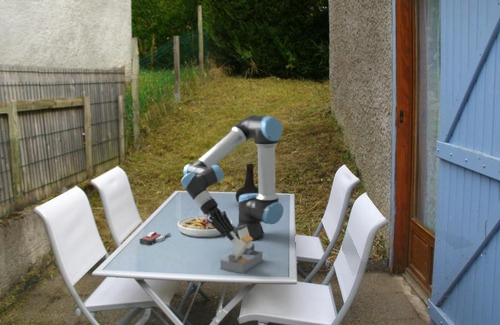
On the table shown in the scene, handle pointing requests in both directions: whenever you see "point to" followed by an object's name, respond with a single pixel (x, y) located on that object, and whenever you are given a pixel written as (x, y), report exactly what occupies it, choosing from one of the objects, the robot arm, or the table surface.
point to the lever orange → (242, 246)
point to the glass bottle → (247, 183)
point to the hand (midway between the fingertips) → (238, 245)
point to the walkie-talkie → (152, 238)
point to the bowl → (198, 227)
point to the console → (242, 261)
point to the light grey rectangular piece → (244, 234)
